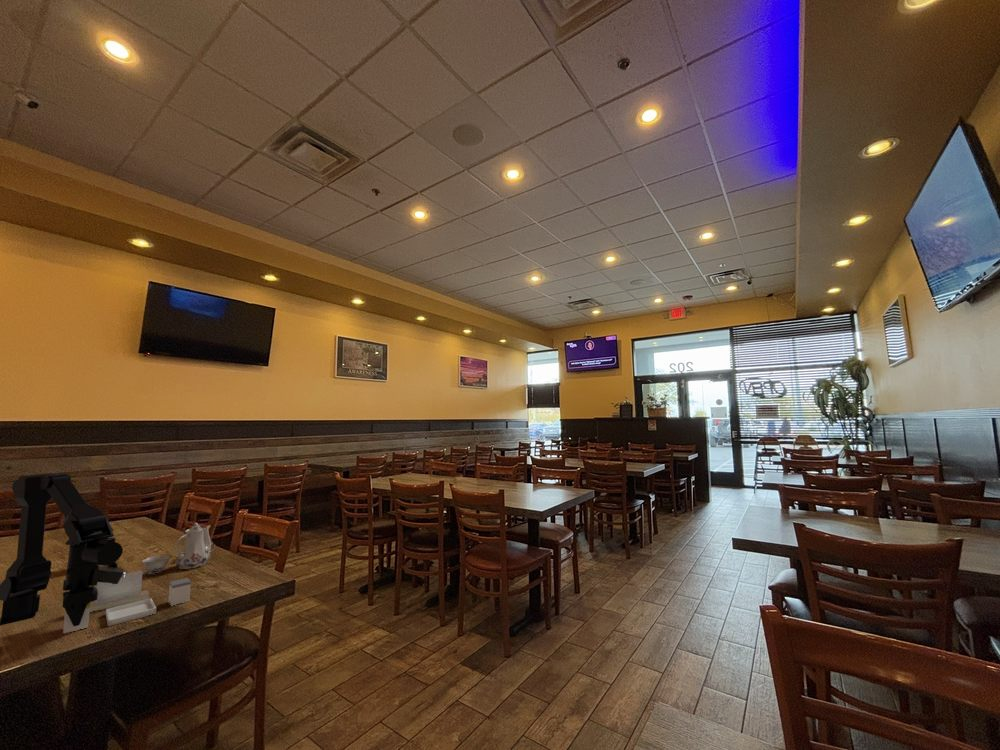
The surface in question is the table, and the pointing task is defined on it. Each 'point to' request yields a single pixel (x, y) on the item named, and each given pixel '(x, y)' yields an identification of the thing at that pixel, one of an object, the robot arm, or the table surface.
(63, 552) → the table surface
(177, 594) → the grey cartridge
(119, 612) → the tray
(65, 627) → the amber cartridge
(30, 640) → the table surface
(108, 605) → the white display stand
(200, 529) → the chinaware
